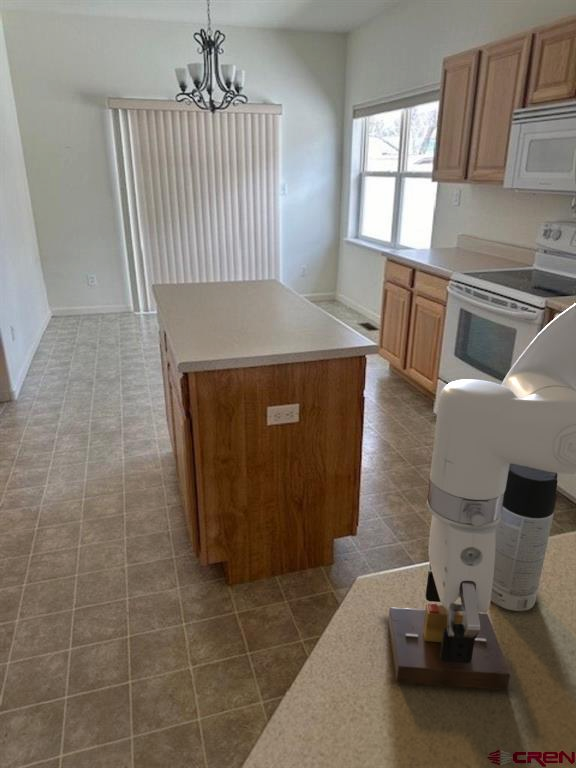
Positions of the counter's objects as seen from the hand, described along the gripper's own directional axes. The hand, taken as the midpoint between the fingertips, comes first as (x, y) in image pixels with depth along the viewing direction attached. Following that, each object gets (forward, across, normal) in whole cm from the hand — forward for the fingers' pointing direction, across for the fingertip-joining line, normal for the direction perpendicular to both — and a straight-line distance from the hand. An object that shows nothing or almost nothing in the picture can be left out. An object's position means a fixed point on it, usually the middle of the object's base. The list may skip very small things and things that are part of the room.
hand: (446, 627), depth 62 cm
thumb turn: (+1, 0, 0) cm, 1 cm away
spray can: (+5, +11, -11) cm, 16 cm away
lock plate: (+5, 0, 0) cm, 5 cm away
